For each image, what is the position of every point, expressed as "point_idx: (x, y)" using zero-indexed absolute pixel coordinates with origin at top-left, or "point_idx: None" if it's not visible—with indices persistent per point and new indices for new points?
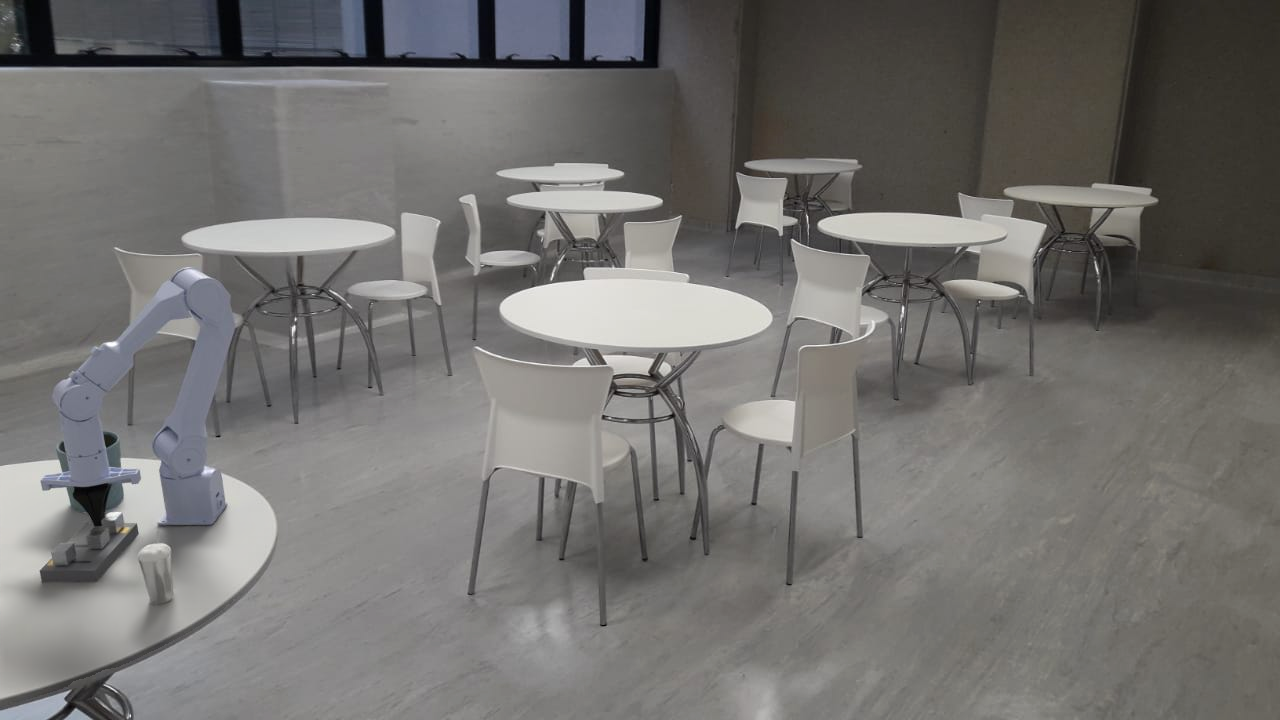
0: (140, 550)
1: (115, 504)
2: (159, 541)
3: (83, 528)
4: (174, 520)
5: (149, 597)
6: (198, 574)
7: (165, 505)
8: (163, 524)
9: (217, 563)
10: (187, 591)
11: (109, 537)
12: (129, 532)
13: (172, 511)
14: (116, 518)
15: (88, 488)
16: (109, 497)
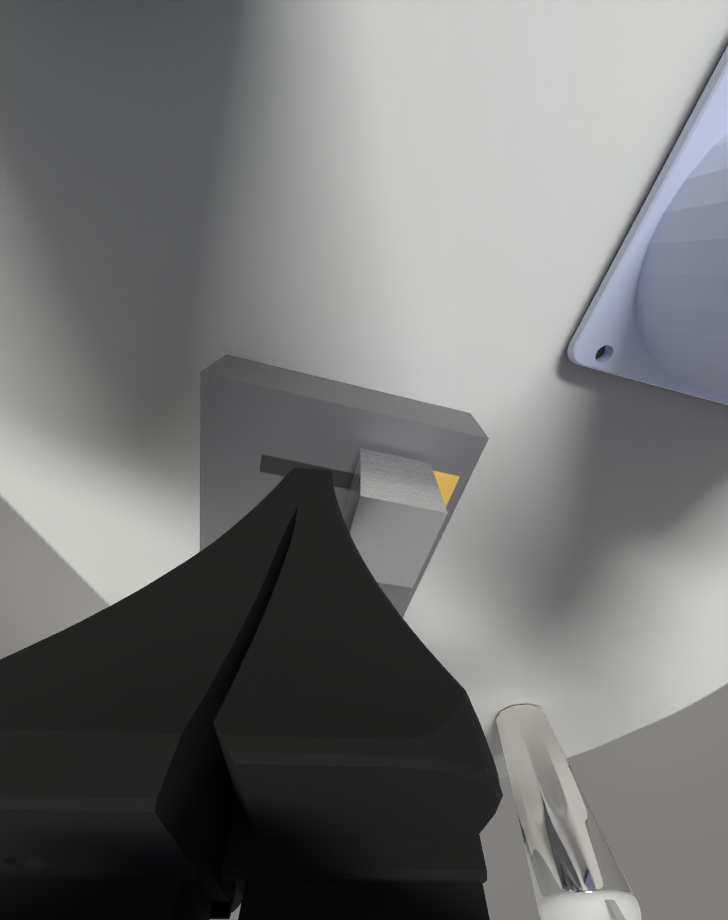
0: None
1: None
2: (623, 917)
3: (214, 433)
4: (664, 369)
5: (499, 732)
6: (616, 665)
7: (714, 330)
8: (595, 368)
9: (680, 637)
10: (574, 705)
11: (383, 584)
12: (452, 510)
13: (712, 381)
14: (419, 572)
15: (205, 915)
16: None
